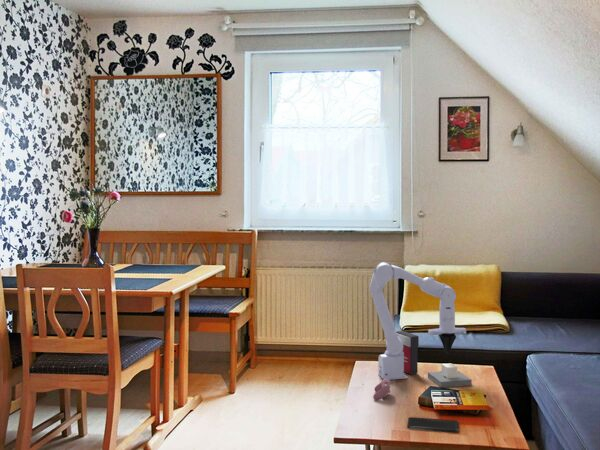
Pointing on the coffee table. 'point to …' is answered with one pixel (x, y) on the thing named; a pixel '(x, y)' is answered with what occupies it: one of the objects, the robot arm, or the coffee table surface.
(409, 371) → the dark grey red box
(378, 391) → the pink lumpy figure
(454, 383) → the socket
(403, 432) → the coffee table surface
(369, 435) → the coffee table surface
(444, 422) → the phone
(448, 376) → the white rectangular box
